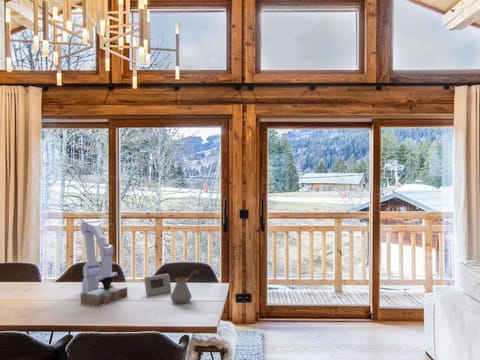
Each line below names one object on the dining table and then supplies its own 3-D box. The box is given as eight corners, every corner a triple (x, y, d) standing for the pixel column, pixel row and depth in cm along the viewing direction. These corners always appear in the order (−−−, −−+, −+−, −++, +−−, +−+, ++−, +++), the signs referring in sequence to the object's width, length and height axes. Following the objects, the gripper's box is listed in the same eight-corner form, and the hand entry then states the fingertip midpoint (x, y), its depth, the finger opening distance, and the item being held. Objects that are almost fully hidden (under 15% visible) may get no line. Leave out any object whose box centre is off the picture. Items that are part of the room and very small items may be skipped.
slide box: (111, 293, 235) (111, 284, 235) (127, 296, 229) (127, 287, 229) (80, 303, 215) (80, 293, 215) (97, 306, 209) (97, 296, 209)
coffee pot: (183, 306, 210) (183, 278, 210) (166, 303, 215) (166, 276, 215) (204, 296, 229) (204, 270, 229) (188, 293, 234) (188, 268, 234)
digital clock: (145, 296, 228) (145, 278, 228) (142, 292, 236) (142, 275, 236) (172, 293, 235) (172, 275, 235) (169, 289, 243) (169, 272, 243)
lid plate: (99, 291, 225) (99, 288, 225) (111, 293, 220) (111, 290, 220) (85, 295, 216) (85, 293, 216) (97, 298, 211) (97, 295, 211)
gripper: (101, 270, 215) (101, 294, 215) (121, 265, 228) (121, 288, 228) (92, 268, 218) (92, 293, 218) (112, 264, 231) (112, 287, 231)
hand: (106, 290), depth 223 cm, fingers closed
